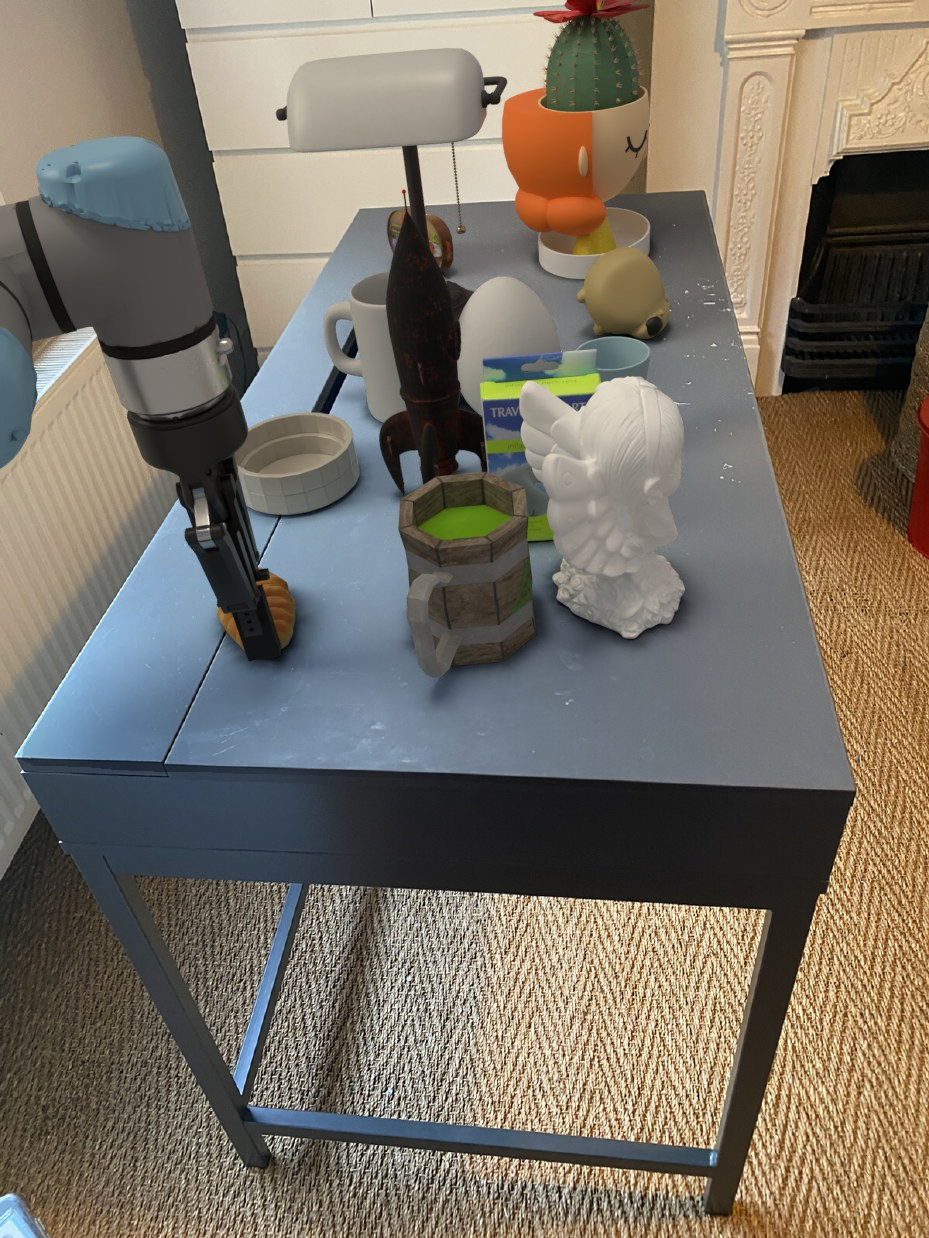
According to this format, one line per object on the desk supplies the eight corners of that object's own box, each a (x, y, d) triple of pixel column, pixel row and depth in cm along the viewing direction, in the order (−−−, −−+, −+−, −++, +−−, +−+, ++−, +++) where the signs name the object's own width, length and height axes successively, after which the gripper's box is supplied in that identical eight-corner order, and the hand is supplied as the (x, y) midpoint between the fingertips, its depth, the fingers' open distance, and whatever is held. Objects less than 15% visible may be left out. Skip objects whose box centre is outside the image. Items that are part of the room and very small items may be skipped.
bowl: (236, 527, 95) (223, 486, 92) (242, 462, 106) (230, 423, 102) (363, 506, 96) (355, 464, 93) (357, 444, 106) (349, 404, 103)
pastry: (314, 645, 80) (304, 612, 78) (238, 673, 79) (225, 639, 76) (286, 587, 87) (276, 554, 84) (215, 610, 85) (203, 578, 83)
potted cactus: (654, 226, 150) (662, -36, 127) (642, 280, 134) (649, -10, 111) (523, 230, 155) (508, -22, 133) (496, 282, 139) (474, 5, 116)
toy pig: (617, 372, 121) (680, 325, 113) (555, 303, 118) (615, 249, 110) (636, 338, 127) (697, 290, 120) (578, 271, 124) (637, 218, 116)
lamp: (312, 369, 122) (247, 78, 100) (356, 295, 140) (310, 35, 118) (511, 364, 118) (488, 57, 96) (531, 289, 136) (516, 16, 114)
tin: (389, 260, 151) (381, 206, 145) (405, 254, 152) (397, 200, 147) (443, 282, 141) (436, 225, 136) (459, 276, 142) (454, 219, 137)
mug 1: (472, 384, 114) (460, 268, 105) (443, 430, 106) (428, 308, 97) (355, 378, 119) (334, 266, 110) (320, 421, 111) (293, 304, 102)
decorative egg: (570, 382, 112) (567, 257, 103) (551, 433, 103) (545, 302, 94) (473, 379, 115) (461, 257, 106) (446, 428, 107) (430, 301, 97)
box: (493, 546, 89) (476, 378, 77) (493, 521, 92) (477, 357, 80) (605, 539, 88) (604, 368, 76) (601, 514, 91) (600, 347, 80)
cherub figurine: (703, 642, 76) (723, 423, 63) (551, 662, 76) (540, 447, 63) (663, 548, 86) (672, 342, 73) (529, 566, 86) (514, 363, 73)
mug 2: (443, 576, 86) (426, 464, 78) (555, 595, 82) (550, 479, 74) (369, 693, 75) (341, 577, 67) (494, 721, 71) (480, 601, 64)
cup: (592, 468, 97) (591, 375, 90) (564, 435, 103) (562, 346, 96) (659, 451, 98) (663, 358, 92) (628, 419, 104) (629, 330, 98)
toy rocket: (434, 530, 91) (388, 215, 72) (385, 495, 97) (331, 194, 78) (504, 495, 95) (478, 185, 76) (453, 463, 101) (417, 167, 81)
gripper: (229, 432, 58) (309, 699, 73) (240, 347, 68) (309, 598, 83) (109, 451, 57) (214, 715, 73) (137, 363, 67) (225, 612, 83)
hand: (264, 652), depth 78 cm, fingers closed
